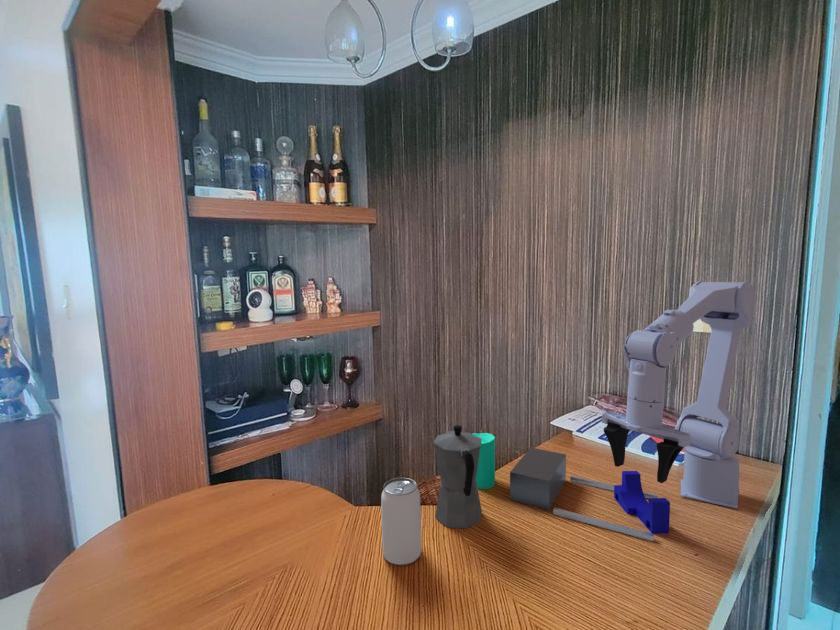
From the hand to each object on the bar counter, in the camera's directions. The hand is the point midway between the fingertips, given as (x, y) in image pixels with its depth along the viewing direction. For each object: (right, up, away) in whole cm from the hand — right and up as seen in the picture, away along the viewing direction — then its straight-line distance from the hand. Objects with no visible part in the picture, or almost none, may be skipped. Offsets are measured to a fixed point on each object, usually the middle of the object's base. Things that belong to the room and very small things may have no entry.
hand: (639, 472), depth 77 cm
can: (-43, -12, -5) cm, 44 cm away
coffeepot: (-32, -11, +5) cm, 34 cm away
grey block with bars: (-7, -10, +11) cm, 16 cm away
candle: (-26, -9, +19) cm, 33 cm away
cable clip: (+3, -10, +5) cm, 12 cm away
